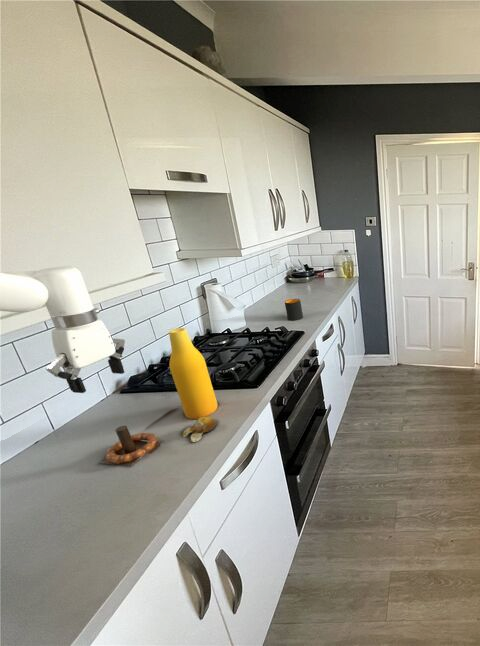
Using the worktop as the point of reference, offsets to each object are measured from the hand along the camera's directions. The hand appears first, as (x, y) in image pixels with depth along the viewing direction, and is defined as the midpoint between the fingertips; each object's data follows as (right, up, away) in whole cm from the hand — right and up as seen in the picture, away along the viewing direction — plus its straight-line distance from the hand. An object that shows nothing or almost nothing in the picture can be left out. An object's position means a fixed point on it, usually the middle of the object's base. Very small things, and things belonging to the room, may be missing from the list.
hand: (100, 382), depth 89 cm
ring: (+2, -19, +7) cm, 20 cm away
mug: (+7, +18, +111) cm, 113 cm away
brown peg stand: (+2, -22, +7) cm, 23 cm away
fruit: (+15, -18, +16) cm, 28 cm away
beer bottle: (+9, -14, +26) cm, 31 cm away
